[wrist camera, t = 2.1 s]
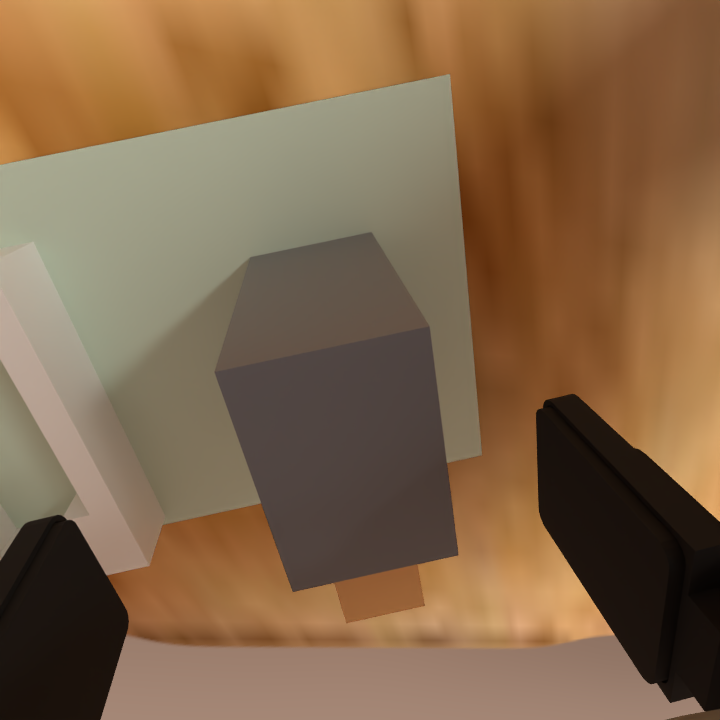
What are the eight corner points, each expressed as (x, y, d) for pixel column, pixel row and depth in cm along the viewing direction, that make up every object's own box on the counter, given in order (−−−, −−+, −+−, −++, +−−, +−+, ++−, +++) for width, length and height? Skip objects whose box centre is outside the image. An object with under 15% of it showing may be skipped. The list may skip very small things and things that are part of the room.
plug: (371, 231, 16) (429, 326, 9) (403, 421, 20) (463, 596, 13) (250, 257, 16) (214, 371, 9) (303, 443, 20) (306, 632, 13)
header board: (437, 77, 16) (478, 67, 12) (470, 434, 22) (504, 496, 19) (-263, 218, 15) (-430, 250, 12) (-24, 542, 22) (-86, 626, 18)
